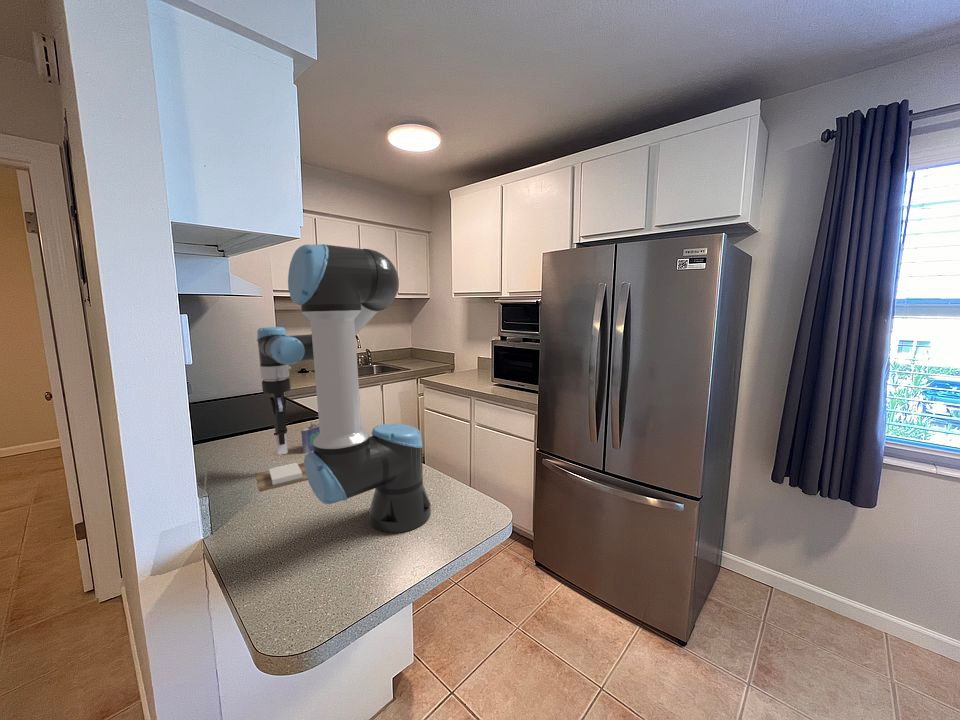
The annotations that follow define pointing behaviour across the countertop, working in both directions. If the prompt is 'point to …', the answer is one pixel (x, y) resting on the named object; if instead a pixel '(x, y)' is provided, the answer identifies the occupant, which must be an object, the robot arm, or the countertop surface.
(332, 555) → the countertop surface
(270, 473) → the tile
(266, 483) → the board
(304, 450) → the flask
